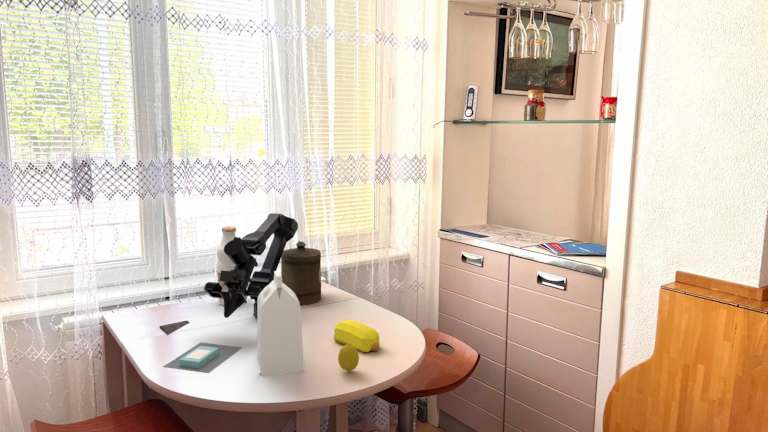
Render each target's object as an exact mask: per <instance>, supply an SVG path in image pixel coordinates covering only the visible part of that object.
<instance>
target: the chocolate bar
mask: <svg viewBox="0 0 768 432" xmlns="http://www.w3.org/2000/svg"><path fill="white" fill-rule="evenodd" d="M190 323H191V322H190V321H188V320H182V321H178V322H173V323H168V324H164V325H159V329H160V330H162V331H163V332H164V333H165V334H166V333H167V334H168V335H171V334H173V333H174V332H176V331H177V330H179V329H181V328H183V327H185V326H186V325H187V326H188V325H189V324H190ZM167 334H166V335H167ZM168 335H167V336H168Z"/></svg>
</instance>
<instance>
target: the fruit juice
mask: <svg viewBox="0 0 768 432" xmlns="http://www.w3.org/2000/svg"><path fill="white" fill-rule="evenodd" d="M221 232H222V239H221V242H220V244H219V245H218V246H217V249H216V255H217V259H218V261H217V264H216V272H217V274H216V276H217V283H219V284H220V285H221V286H222V287H227V285H225V284H224V281H219V279H220V273H221V271H231V270H234V267H235V265H236V264H234V263H233V262H232V261H231V260H230V259H229V257H228V256H227V255H226V254H225V252H224V247H225V245H226V244H227V243H228V242H230V241H232V240H233V239H234V237H237V236H236V232H237V229H236V227H235V226H224V227H222V228H221ZM217 300H218V304H219V305H222V306H224V299H223V297H221V298H217Z"/></svg>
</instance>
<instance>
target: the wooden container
mask: <svg viewBox="0 0 768 432" xmlns="http://www.w3.org/2000/svg"><path fill="white" fill-rule="evenodd" d="M295 246H296V247H293V248H289V249H284V251H283V254H282V256H281V259H280V263H281V264H280V265H281V266H280V267H281V271H280V274H281V276H282V282H283V283H284V284H285V285H286V286H287V287H289V288H290V289H291V290H292V291H293V292H294V293H295V294H296V296H297V299H298V301H299V304H300V306H304V305H305V306H306V305H311V304H314V303H318V302H319V301H320V300H322V269H321V268H322V267H321V262H322V259H321V258H322V257H321V255H322V254H321V253H322V252H321V250H320V249H317V248H313V247H312V248H311V247H306V246H307V245H306V243H305V242H304V241H298V242H297V243H296V244H295Z"/></svg>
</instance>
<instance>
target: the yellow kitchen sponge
mask: <svg viewBox="0 0 768 432" xmlns="http://www.w3.org/2000/svg"><path fill="white" fill-rule="evenodd" d="M333 339H334V340H335V342H338V343H342V344H343V343H344V344H343V345H347V344H350V345H353V346H354V347H355V348H356V349H357V351H360V352H362V353H364V352H367V353H369V352H371V351H372V352H377V351H378V350H379V348H381V346H380V345H381V342H380V335H379V332H378V331H377V330H376V329H375V328H372V327H370V326H368V325H366V324H364V323H362V322H358V321H356V320H351V319H348V318H347V319H346V320H344V321H339V322H337V324H336V325H335V328H334V335H333Z"/></svg>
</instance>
